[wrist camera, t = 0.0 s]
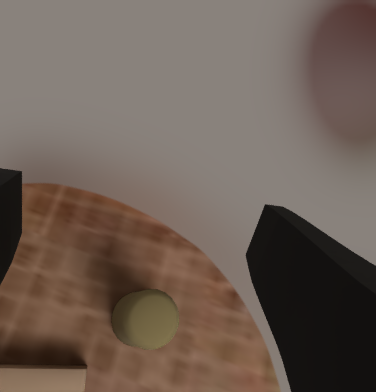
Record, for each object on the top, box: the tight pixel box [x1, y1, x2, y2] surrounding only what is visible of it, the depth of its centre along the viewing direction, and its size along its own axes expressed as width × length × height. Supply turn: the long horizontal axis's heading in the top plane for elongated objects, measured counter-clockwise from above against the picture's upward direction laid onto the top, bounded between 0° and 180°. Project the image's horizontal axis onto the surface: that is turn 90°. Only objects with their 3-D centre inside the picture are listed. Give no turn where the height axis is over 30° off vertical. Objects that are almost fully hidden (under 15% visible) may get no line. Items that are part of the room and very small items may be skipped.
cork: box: [112, 289, 179, 350], centre depth 35 cm, size 6×6×11 cm
